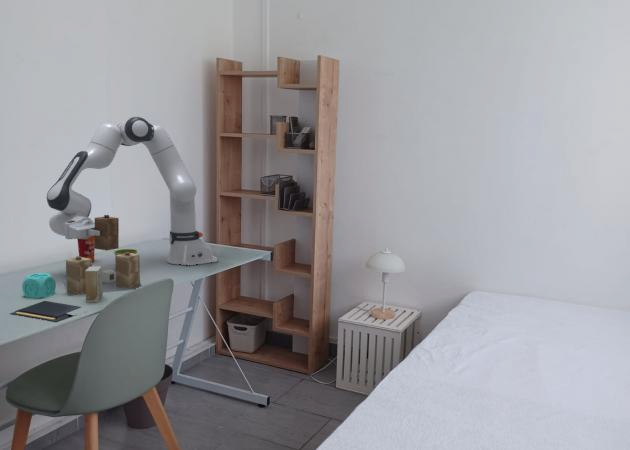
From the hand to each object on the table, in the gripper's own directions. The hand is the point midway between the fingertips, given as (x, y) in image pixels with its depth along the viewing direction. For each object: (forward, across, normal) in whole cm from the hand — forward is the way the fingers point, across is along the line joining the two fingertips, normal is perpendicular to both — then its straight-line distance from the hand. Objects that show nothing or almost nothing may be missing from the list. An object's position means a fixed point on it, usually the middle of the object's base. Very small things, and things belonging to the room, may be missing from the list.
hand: (108, 231), depth 232 cm
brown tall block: (+10, 0, -20) cm, 22 cm away
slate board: (+2, +5, -21) cm, 21 cm away
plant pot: (-9, -18, -21) cm, 29 cm away
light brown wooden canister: (+1, +16, -20) cm, 25 cm away
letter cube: (-1, 0, -20) cm, 20 cm away
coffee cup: (-36, -21, -21) cm, 46 cm away
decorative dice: (-7, +26, -21) cm, 34 cm away
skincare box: (+13, +20, -21) cm, 31 cm away
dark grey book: (+9, +35, -22) cm, 42 cm away
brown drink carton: (-1, 0, -7) cm, 7 cm away
